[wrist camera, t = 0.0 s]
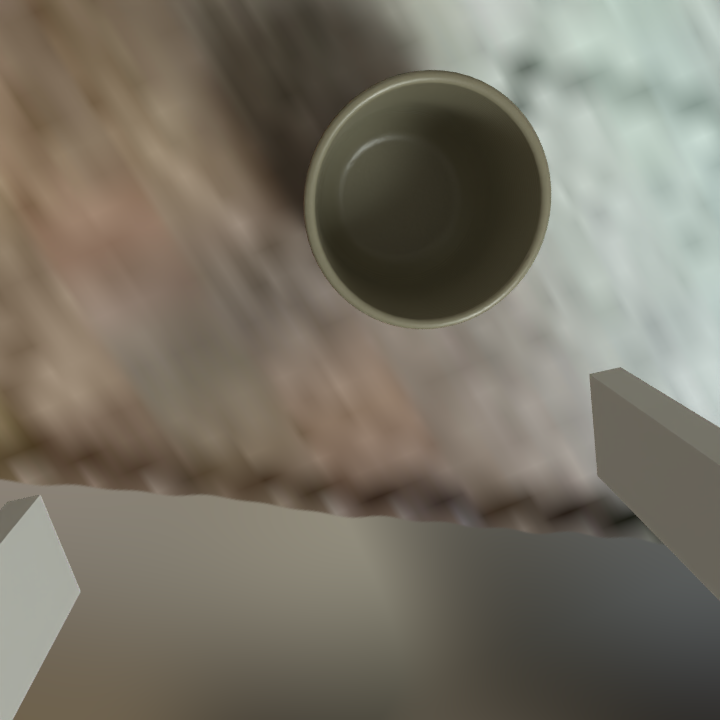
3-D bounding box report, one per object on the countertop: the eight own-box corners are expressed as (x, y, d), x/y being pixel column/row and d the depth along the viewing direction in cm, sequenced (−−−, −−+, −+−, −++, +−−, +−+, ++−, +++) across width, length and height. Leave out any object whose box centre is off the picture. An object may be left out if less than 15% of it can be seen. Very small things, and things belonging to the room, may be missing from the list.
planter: (392, 326, 42) (422, 376, 32) (263, 197, 39) (249, 206, 28) (524, 200, 40) (600, 209, 30) (401, 53, 37) (439, 6, 27)
